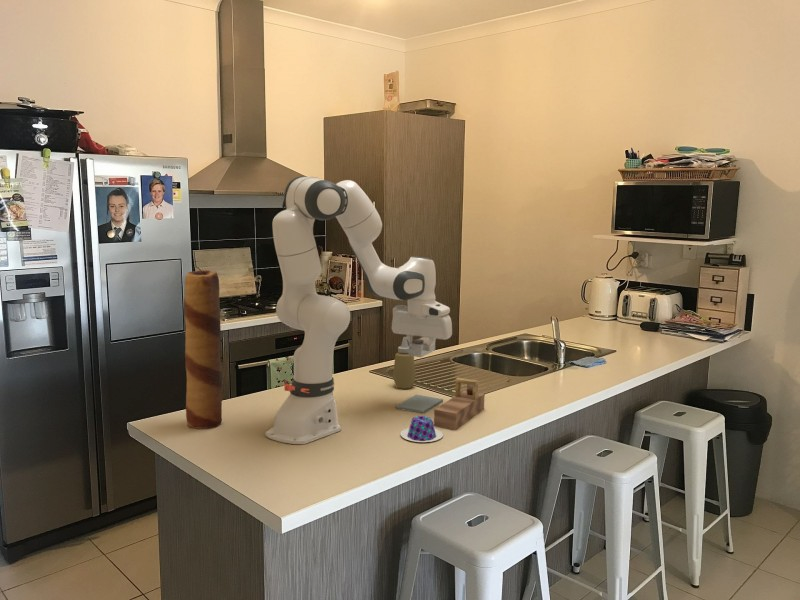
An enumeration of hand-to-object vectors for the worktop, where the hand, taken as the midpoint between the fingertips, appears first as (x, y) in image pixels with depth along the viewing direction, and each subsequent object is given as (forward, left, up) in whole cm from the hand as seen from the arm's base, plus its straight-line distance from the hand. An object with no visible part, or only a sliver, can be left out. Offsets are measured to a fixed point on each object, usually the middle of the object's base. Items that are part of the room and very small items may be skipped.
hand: (421, 349), depth 209 cm
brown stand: (-4, -16, -18) cm, 25 cm away
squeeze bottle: (+15, +14, -19) cm, 28 cm away
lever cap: (+1, 0, -1) cm, 1 cm away
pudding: (-24, -13, -19) cm, 33 cm away
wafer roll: (-48, +46, -19) cm, 69 cm away
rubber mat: (0, 0, -18) cm, 18 cm away
